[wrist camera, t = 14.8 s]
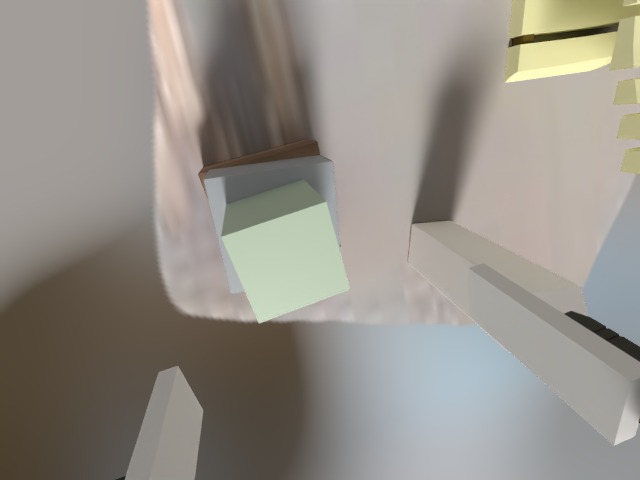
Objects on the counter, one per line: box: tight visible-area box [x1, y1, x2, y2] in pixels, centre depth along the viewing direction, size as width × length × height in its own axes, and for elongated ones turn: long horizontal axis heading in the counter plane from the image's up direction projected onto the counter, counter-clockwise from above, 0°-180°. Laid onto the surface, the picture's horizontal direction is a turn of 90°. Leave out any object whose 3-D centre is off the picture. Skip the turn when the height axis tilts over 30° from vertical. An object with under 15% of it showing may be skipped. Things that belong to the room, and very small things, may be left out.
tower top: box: [203, 155, 341, 294], centre depth 31 cm, size 11×11×5 cm
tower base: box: [198, 139, 341, 247], centre depth 36 cm, size 12×12×5 cm
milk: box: [408, 221, 588, 352], centre depth 35 cm, size 6×6×22 cm
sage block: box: [221, 179, 350, 323], centre depth 25 cm, size 7×7×8 cm
